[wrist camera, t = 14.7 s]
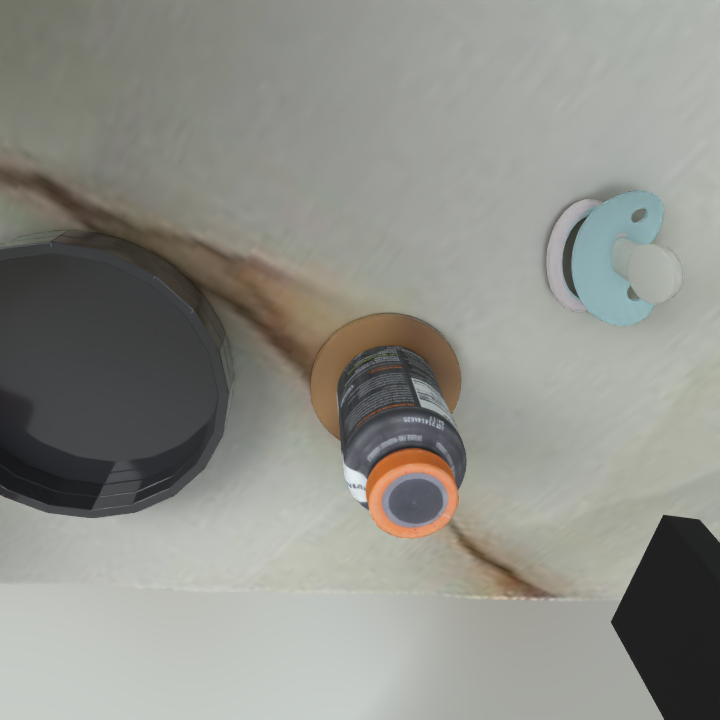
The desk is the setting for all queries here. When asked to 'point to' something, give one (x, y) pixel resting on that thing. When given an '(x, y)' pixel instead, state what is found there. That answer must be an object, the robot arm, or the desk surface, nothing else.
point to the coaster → (376, 334)
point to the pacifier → (614, 259)
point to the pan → (104, 375)
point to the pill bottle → (399, 442)
